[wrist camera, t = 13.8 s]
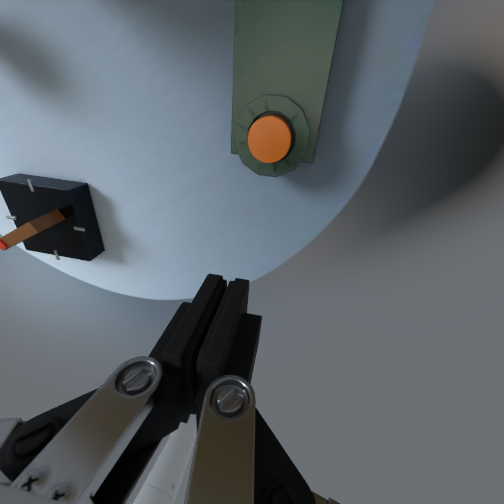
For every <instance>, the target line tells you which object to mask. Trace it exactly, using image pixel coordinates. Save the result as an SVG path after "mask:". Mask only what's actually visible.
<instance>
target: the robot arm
mask: <svg viewBox="0 0 504 504" xmlns="http://www.w3.org/2000/svg"><path fill="white" fill-rule="evenodd" d="M248 292H249V280H245V279H239V278H236V279H235V281H230V282H229V284H228V286H227V280H223V276H221V275H215V274H208V275H207V277H206V279H205V280H204V282H203V284H202V286H201V287H200V289H199V291H198V292H197V294H196V296H195V298H194V300H193V301H192V303H188V302H183V303H182V304H181V305H180V307H179V309H178V310H177V312H176V313H175V315H174V316H173V318H172V320H171V321H170V323H169V324H168V326H167V327H166V329H165V331H164V333H163V334H162V336H161V337H160V339H159V340H158V342H157V344H156V345H155V347H154V348H153V350H152V351H151V353H150V355H149V356H148V357H146V356H141V357H135V358H132V359H130V360H128V361H126V362H124V363H123V364H121V365H120V366H119V367H118V368H117V369H116V370H115V371H114V372H113V373H112V374H111V375H110V376H109V378H108V379H107V380H106V381H105V382H104V383H103V384H102V385H101V386H100V387H99V388H98V389H95V390H93V391H91V392H89V393H87V394H84V395H82V396H80V397H78V398H75V399H74V400H71V401H69V402H67V403H64V404H62V405H60V406H58V407H56V408H53V409H51V410H49V411H47V412H44V413H42V414H40V415H38V416H36V417H34V418H32V419H30V420H29V421H22V419H21V418H5V419H0V504H174V502H175V499H176V496H177V493H178V490H179V487H180V484H181V481H182V478H183V475H184V472H185V469H186V466H187V463H188V459H189V457H190V454H191V451H192V448H193V445H194V442H195V439H196V443H195V448H194V454H193V459H192V464H191V469H190V475H189V480H188V485H187V490H186V495H185V501H184V504H340V503H338V502H336V501H334V500H332V499H331V498H329V499H328V500H326V499H325V498H322V497H321V496H319V495H317V494H316V493H314V492H312V491H311V490H310V488H309V486H308V484H307V483H306V481H305V480H304V478H303V477H302V475H301V474H300V472H299V471H298V469H297V468H296V466H295V465H294V464H293V462H292V461H291V459H290V458H289V456H288V455H287V453H286V452H285V450H284V449H283V447H282V446H281V444H280V443H279V441H278V440H277V438H276V437H275V435H274V434H273V432H272V431H271V429H270V428H269V426H268V425H267V423H266V422H265V420H264V419H263V417H262V416H261V414H260V413H259V411H258V410H257V408H256V407H255V393H254V390H253V388H252V386H251V385H250V383H251V378H252V372H253V368H254V363H255V357H256V353H257V347H258V342H259V335H260V329H261V320H262V316H259V315H253V314H248V313H247V304H248ZM196 436H197V438H196Z"/></svg>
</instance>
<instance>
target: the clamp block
mask: <svg viewBox="0 0 504 504" xmlns="http://www.w3.org/2000/svg"><path fill="white" fill-rule="evenodd" d="M0 191H1V193H2V195H3V198H4V200H5V202H6V204H7V207H8V209H9V211H10V213H11V216H6V217H7V218H8V219H13V220H14V223H15V225H16V227H17V228H19V227H21V226H22V225H24V224H26V223H28V222H30V221H32V220H34V219H37V218H39V217H41V216H43V215H46V214H48V213H50V212H52V211H55V210H57V209H58V210H59V211H60V212H61V213H62V215H63V216H64V217H65V218H66V219H65V220H63V221H61V222H59V223H57V224H55V225H53V226H52V227H50V228H48V229H46V230H44V231H42V232H40V233H38V234H36V235H34V236H32V237H30V238H28V239H26V240H24V241H23V243H24V245H25V248H26V250H31V251H36V252H42V253H47V254H53V255H56V258H57V260H60V258H59V256H64V257H69V258H75V259H80V260H86V261H91V260H93V259H94V258H95V257H97V256H98V255H99V254H101V253H102V252H103V251H105V250H104V246H103V242H102V238H101V234H100V230H99V227H98V223H97V219H96V215H95V211H94V207H93V203H92V199H91V195H90V191H89V188H88V184H87V183H82V182H75V181H68V180H61V179H53V178H46V177H39V176H32V175H25V174H15V175H11V176H7V177H3V178H0Z"/></svg>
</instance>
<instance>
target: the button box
mask: <svg viewBox="0 0 504 504" xmlns="http://www.w3.org/2000/svg"><path fill="white" fill-rule="evenodd" d="M343 1H344V0H236V5H235V37H234V68H233V100H232V131H231V154H238V155H239V156H240V158H241V161H242V163H243V164H244V165H246V166H247V167H248V168H250V169H251V170H252V171H254V172H255V173H256V174H258V175H264V176H271V177H278V176H280V175H282V174H285V173H287V172H289V171H292V170H293V169H295V167H296V166H297V165H298V164H299V162H306V163H313V158H314V152H315V147H316V142H317V137H318V131H319V126H320V121H321V116H322V110H323V105H324V100H325V95H326V90H327V84H328V79H329V74H330V69H331V63H332V58H333V53H334V48H335V42H336V37H337V32H338V27H339V22H340V16H341V11H342V6H343ZM268 115H276V116H279V117H281V118H283V119H284V120H285V121H286V122H287V123H288V125H289V126H290V129H291V132H292V141H291V145H290V148H289V150H288V152H287V154H286V155H285V156H284V157H283V158H282V159H281V160H279V161H277V162H274V163H264V162H261V161H259V160H258V159H256V158H255V157H254V156H253V155H252V153H251V152H250V150H249V147H248V133H249V130H250V128H251V126H252V125H253V124H254V123H255V122H256V121H257V120H258V119H260V118H262V117H264V116H268Z"/></svg>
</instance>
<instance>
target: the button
mask: <svg viewBox="0 0 504 504" xmlns="http://www.w3.org/2000/svg"><path fill="white" fill-rule="evenodd" d="M291 141H292V132H291V129H290V126H289V125H288V123H287V122H286V121H285V120H284V119H283V118H281V117H279V116H276V115H268V116H264V117H262V118H260V119H258V120H257V121H256V122H255V123H254V124H253V125H252V126H251V128H250V130H249V133H248V147H249V150H250V152H251V153H252V155H253V156H254V157H255V158H256V159H258V160H259V161H261V162H264V163H274V162H277V161H279V160H281V159H282V158H283V157H284V156H285V155H286V154H287V152H288V150H289V148H290V145H291Z"/></svg>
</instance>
